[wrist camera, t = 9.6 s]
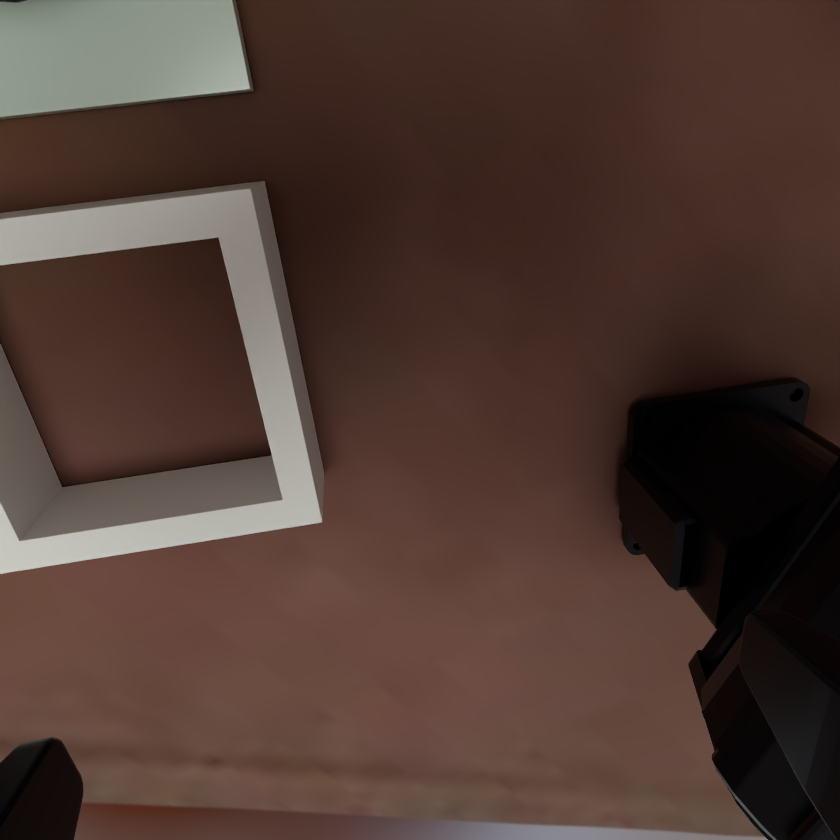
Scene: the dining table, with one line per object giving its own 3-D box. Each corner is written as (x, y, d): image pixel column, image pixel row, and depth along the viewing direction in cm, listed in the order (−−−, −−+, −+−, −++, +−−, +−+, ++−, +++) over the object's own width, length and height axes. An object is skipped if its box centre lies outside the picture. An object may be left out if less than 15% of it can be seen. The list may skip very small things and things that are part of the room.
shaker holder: (264, 180, 17) (250, 188, 14) (324, 473, 21) (322, 522, 18) (-92, 223, 16) (-177, 240, 14) (42, 516, 20) (-3, 574, 18)
